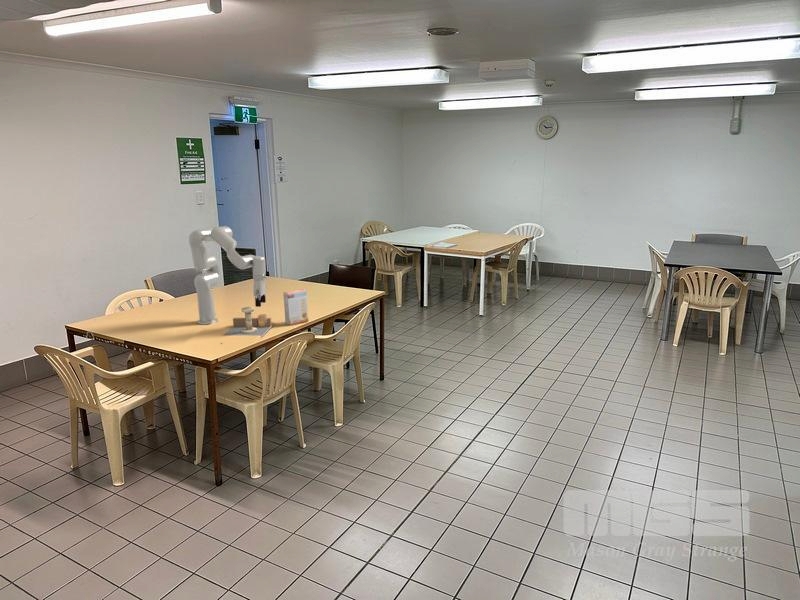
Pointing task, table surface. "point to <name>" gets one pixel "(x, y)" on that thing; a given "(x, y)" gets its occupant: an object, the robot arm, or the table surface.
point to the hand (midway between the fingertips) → (260, 304)
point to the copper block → (262, 320)
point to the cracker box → (295, 306)
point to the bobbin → (248, 320)
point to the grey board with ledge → (241, 323)
